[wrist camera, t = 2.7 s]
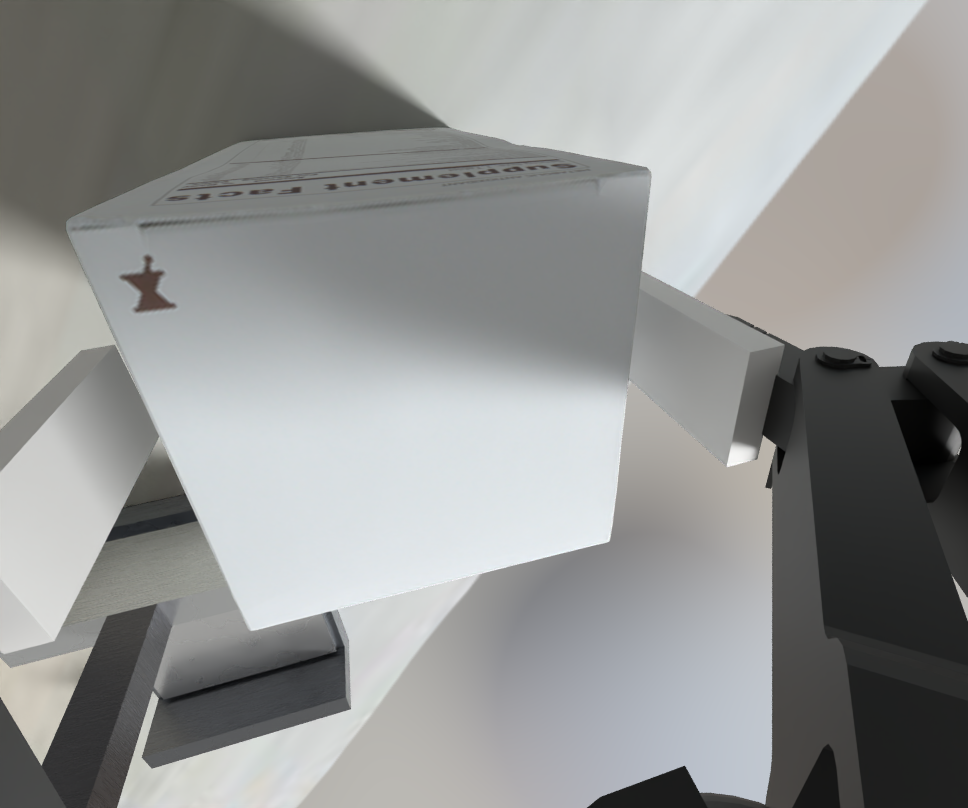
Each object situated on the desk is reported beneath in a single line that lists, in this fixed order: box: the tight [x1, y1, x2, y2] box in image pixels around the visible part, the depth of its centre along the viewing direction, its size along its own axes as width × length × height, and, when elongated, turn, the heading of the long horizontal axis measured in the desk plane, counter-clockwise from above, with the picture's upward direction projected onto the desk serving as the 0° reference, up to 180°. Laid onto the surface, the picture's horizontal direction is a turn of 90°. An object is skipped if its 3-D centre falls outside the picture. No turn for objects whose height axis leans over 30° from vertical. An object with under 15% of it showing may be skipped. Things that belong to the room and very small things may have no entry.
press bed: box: [105, 495, 351, 768], centre depth 30 cm, size 12×16×5 cm
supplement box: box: [66, 128, 651, 631], centre depth 17 cm, size 10×9×17 cm
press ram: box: [0, 521, 238, 808], centre depth 17 cm, size 11×2×23 cm, turn 95°
